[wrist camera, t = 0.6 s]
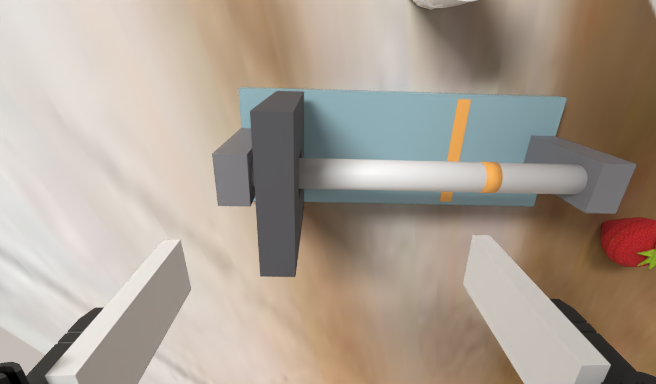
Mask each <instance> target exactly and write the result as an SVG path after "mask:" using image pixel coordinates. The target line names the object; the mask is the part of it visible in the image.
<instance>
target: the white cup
mask: <svg viewBox="0 0 656 384" xmlns="http://www.w3.org/2000/svg"><path fill="white" fill-rule="evenodd" d="M412 1H413V2H414V3H415V4H416V5H417V6H420V7H423V8H427V9H430V10H432V9H436V8H446V7H452V6H457V5H461V4H465V3H469V2H473V1H477V0H412Z"/></svg>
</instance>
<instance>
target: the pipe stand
mask: <svg viewBox="0 0 656 384" xmlns="http://www.w3.org/2000/svg"><path fill="white" fill-rule="evenodd" d="M276 91H302V92H304V158H299V189H304V202H337V203H386V204H436V205H485V206H534V204H535V201H536V198H537V194H554V195H556V196H558V197H559V198H561V199H563V200H564V201H566V202H568V203H569V204H571V205H573V206H574V207H576V208H578V209H579V210H581V211H583V212H584V213H610V214H616V212H617V210H618V207H619V205H620V203H621V200H622V198H623V196H624V193H625V191H626V188H627V186H628V184H629V181H630V179H631V177H632V174H633V172H634V170H635V167H636V165H637V164H635V163H632V162H629V161H626V160H624V159H621V158H618V157H615V156H612V155H609V154H606V153H603V152H600V151H597V150H595V149H592V148H589V147H586V146H583V145H580V144H577V143H574V142H571V141H568V140H565V139H563V138H560V137H557V136H556V133H557V130H558V126H559V123H560V120H561V117H562V113H563V110H564V107H565V104H566V100H567V98H565V97H560V96H530V95H496V94H461V93H427V92H392V91H358V90H323V89H289V88H254V87H241V88H239V101H240V114H241V127H242V128H241V129H240V130H239V131H238V132H236V133H235V134H234V135H233V136H232V137H231V138H230V139H228V140H227V141H226V142H225V143H224V144H223V145H222V146H221V147H219V148H218V149H217V150H216V151H215V152H214V153H213V154H212V157H213V166H214V174H215V183H216V192H217V200H218V206H251V204H252V202H253V201H256V199H255V184H254V168H253V153H252V138H251V122H250V110H252V109H253V108H254V107H256V106H257V105H258V104H260V103H261V102H262V101H264V100H265V99H266V98H268V97H269V96H270V95H272V94H273V93H274V92H276Z"/></svg>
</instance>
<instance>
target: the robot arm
mask: <svg viewBox="0 0 656 384" xmlns="http://www.w3.org/2000/svg"><path fill="white" fill-rule="evenodd" d="M463 285H464V287H465V289H466V290H467V292H468V294H469V295H470V297H471V298H472V300H473V302H474V303H475V305H476V307H477V308H478V310H479V311H480V313H481V315H482V316H483V318H484V320H485V321H486V323H487V324H488V326H489V328H490V329H491V331H492V333H493V334H494V336H495V337H496V339H497V341H498V342H499V344H500V345H501V347H502V349H503V350H504V352H505V354H506V355H507V357H508V358H509V360H510V362H511V363H512V365H513V367H514V368H515V370H516V371H517V373H518V375H519V376H520V378H521V380H522V381H523V383H524V384H656V377H654V376H652V375H649V374H646V373H643V372H637V371H636V370H635V369H634V368H633V367H632V366H631V365H630V364H629V363H628V362H627V361H626V360H625V359H624V358H623V357H622V356H621V355H620V354H619V353H618V352H617V351H616V350H615V349H614V348H613V347H612V346H611V345H610V344H609V343H608V342H607V341H606V340H605V339H604V338H603V337H602V336H601V335H600V334H599V333H596V330H595V329H594V328H593V327H592V326H591V325H590V324H589V323H587V322H586V320H585V319H584V318H583V317H582V316H581V315H580V314H579V313H578V312H577V311H576V310H575V309H574V308H572V307H570V306H569V305H567V304H566V303H564V302H563V301H561V300H559V299H549V298H548V297H547V296H546V295H545V294H544V293H543V292H542V291H541V290H540V289H539V288H538V286H537V285H536V284H535V283H534V282H533V281H532V280H531V279H530V278H529V277H528V276H527V275H526V274H525V273H524V272H523V270H522V269H521V268H520V267H519V266H518V265H517V264H516V263H515V262H514V261H513V260H512V259H511V258H510V257H509V255H508V254H507V253H506V252H505V251H504V250H503V249H502V248H501V247H500V246H499V245H498V244H497V243H496V242H495V241H494V239H493V238H492V237H491V236H490V235H473V236H472V241H471V246H470V251H469V256H468V262H467V267H466V272H465V277H464V283H463ZM190 290H191V286H190V281H189V277H188V272H187V267H186V263H185V258H184V253H183V249H182V244H181V240H163V241H162V242H161V243H160V244H159V245H158V247H157V248H156V249H155V250H154V251H153V252H152V253H151V255H150V256H149V257H148V258H147V259H146V260H145V261H144V263H143V264H142V265H141V266H140V267H139V268H138V269H137V271H136V272H135V273H134V274H133V275H132V276H131V278H130V279H129V280H128V281H127V282H126V283H125V284H124V286H123V287H122V288H121V289H120V290H119V291H118V292H117V294H116V295H115V296H114V297H113V298H112V299H111V300H110V302H109V303H108V304H107V305H106V306H105V307H104V308H94V309H93V310H91V311H90V312H88V313H87V314H86V315H84V316H83V317H81V318H80V319H79V320H78V321H77V322H76V323H75V324H74V325H73V326H72V327H71V328H70V329H69V330H68V333H67V334H65V335H64V336H63V337H62V338H61V339H60V340H59V341H58V344H55V346H54V347H53V348H52V349H51V350H50V351H49V352H48V353H47V354H46V355H45V356H44V358H42V360H41V361H40V362H39V363H38V364H37V365H36V366H35V367H34V368H33V369H32V370H31V371H30V372H29V374H28V375H27V376H25V373H24V372H23V370H22V368H21V366H20V364H18V363H14V362H7V363H0V384H138V382H139V381H140V379H141V377H142V375H143V373H144V372H145V370H146V368H147V366H148V365H149V363H150V361H151V359H152V358H153V356H154V354H155V352H156V350H157V349H158V347H159V345H160V343H161V342H162V340H163V338H164V336H165V335H166V333H167V331H168V329H169V328H170V326H171V324H172V322H173V320H174V319H175V317H176V315H177V313H178V312H179V310H180V308H181V306H182V305H183V303H184V301H185V299H186V298H187V296H188V294H189V292H190Z"/></svg>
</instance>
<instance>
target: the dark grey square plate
mask: <svg viewBox="0 0 656 384" xmlns="http://www.w3.org/2000/svg"><path fill="white" fill-rule="evenodd" d="M250 122H251V138H252V153H253V168H254V184H255V199H256V215H257V230H258V246H259V261H260V276H273V277H295V275H296V267H297V259H298V251H299V243H300V235H301V227H302V219H303V211H304V189H299V158H304V92H302V91H276V92H274V93H273V94H272V95H270V96H269V97H268V98H266V99H265V100H264V101H262V102H261V103H260V104H258V105H257V106H256V107H254V108H253V109H252V110H250Z"/></svg>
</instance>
